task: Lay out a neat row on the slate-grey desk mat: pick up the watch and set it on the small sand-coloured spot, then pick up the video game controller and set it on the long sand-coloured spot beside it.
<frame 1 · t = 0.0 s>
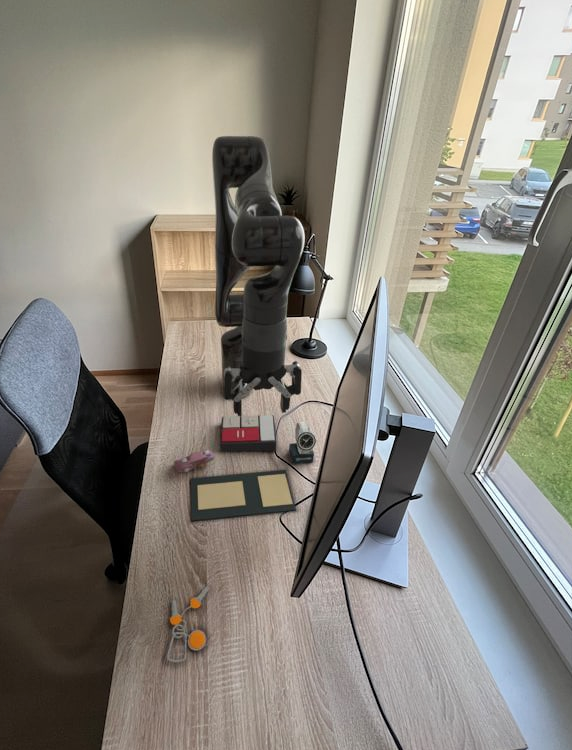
hand: (261, 411, 77), 29 cm above the table, tool pointing down, fingers open, 8 cm apart
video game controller: (195, 467, 103), on the table
watch: (300, 457, 107), on the table
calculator: (248, 438, 112), on the table
key chain: (187, 623, 73), on the table
desk mat: (241, 494, 96), on the table
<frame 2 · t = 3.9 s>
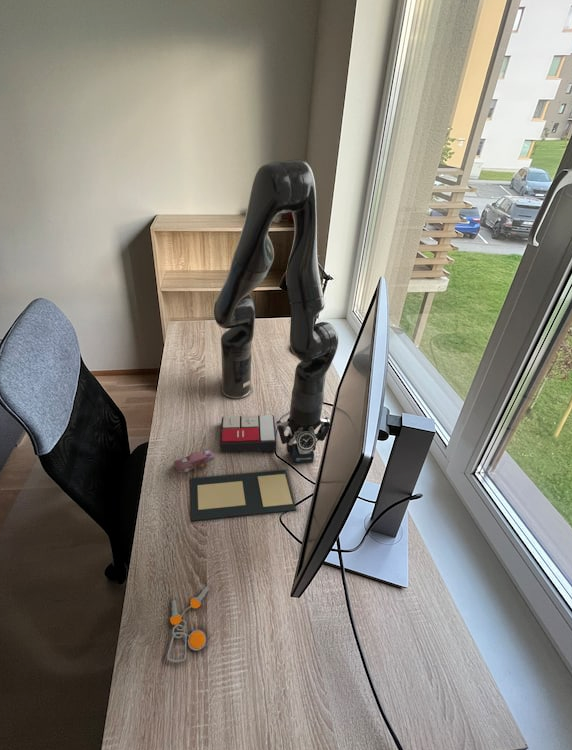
hand: (300, 451, 105), 2 cm above the table, tool pointing down, fingers closed on watch, 4 cm apart
watch: (301, 457, 107), on the table, touching gripper
everything else where it was.
when the fingers open (3 cm above the table, at t = 12.0 s): watch stays where it is, resting on desk mat.
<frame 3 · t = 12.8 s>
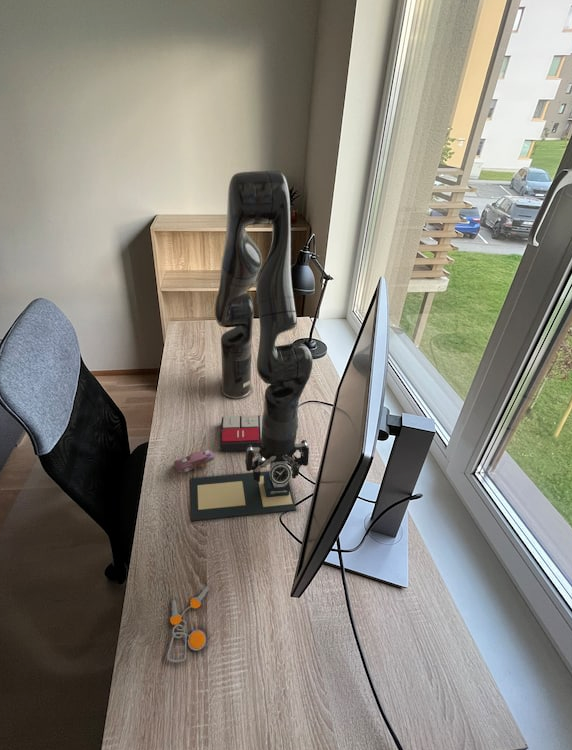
hand: (275, 477, 95), 5 cm above the table, tool pointing down, fingers open, 8 cm apart
watch: (276, 489, 97), resting on desk mat
everything else where it was.
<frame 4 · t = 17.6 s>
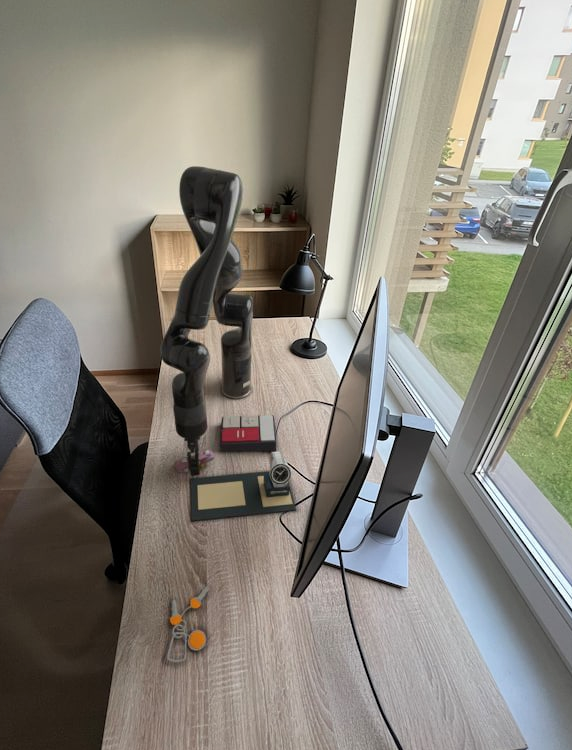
hand: (194, 462, 103), 1 cm above the table, tool pointing down, fingers closed on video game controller, 7 cm apart
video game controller: (195, 467, 103), on the table, touching gripper
everything else where it was.
when the fingers open (2 cm above the table, at t = 25.9 s): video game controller stays where it is, resting on desk mat.
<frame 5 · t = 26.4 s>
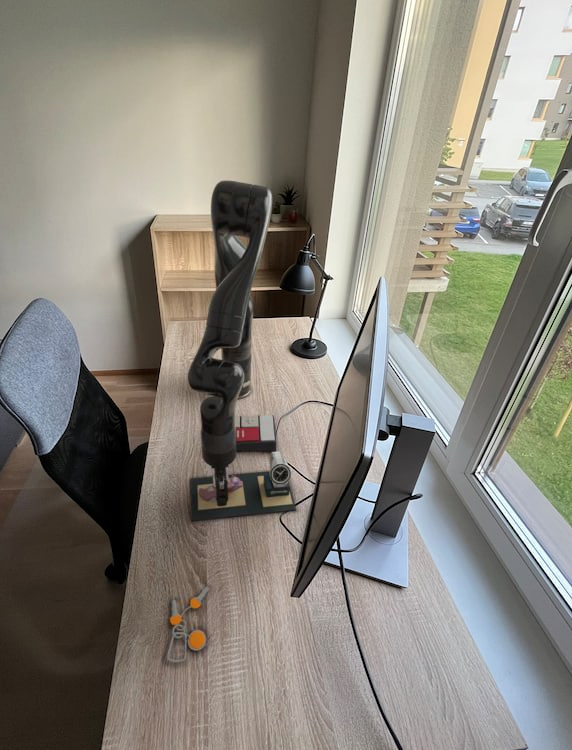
hand: (220, 489, 94), 3 cm above the table, tool pointing down, fingers open, 8 cm apart
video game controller: (221, 495, 96), resting on desk mat
everything else where it was.
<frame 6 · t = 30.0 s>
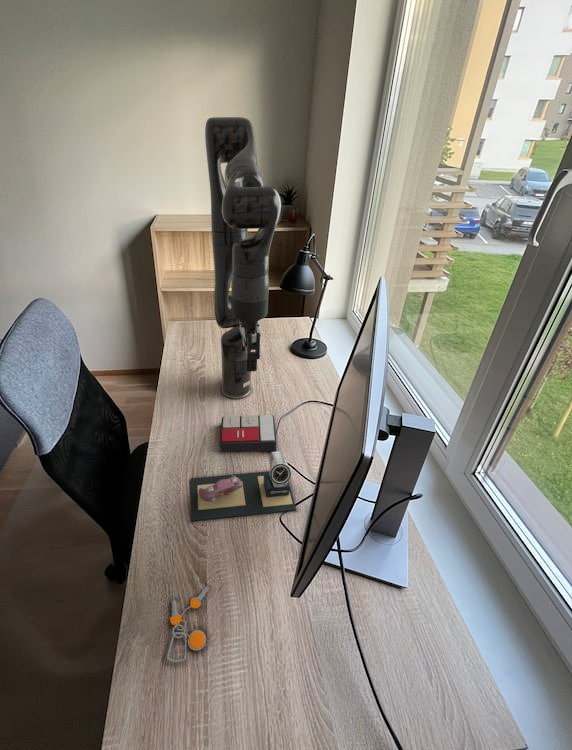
hand: (248, 359, 90), 30 cm above the table, tool pointing down, fingers open, 8 cm apart
nothing on the table moved.
at the end: watch 0.4 cm from the target spot on the desk mat, point 0.4 cm above the desk mat's base; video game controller 0.0 cm from the target spot on the desk mat, point 0.4 cm above the desk mat's base; watch tilted 0° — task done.
